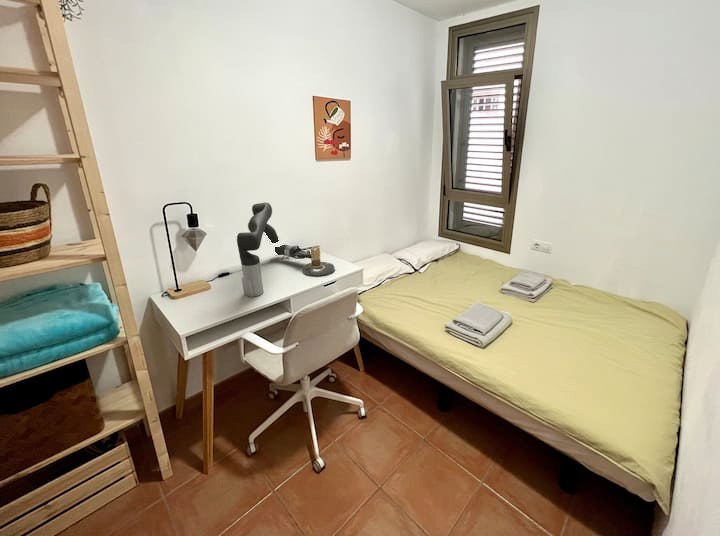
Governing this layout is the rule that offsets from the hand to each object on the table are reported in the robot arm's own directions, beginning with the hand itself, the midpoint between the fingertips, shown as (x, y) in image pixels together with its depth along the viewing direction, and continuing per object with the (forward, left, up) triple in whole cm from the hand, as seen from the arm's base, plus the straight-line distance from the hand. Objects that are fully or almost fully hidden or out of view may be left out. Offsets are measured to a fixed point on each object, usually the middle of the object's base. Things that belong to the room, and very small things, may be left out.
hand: (312, 256), depth 208 cm
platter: (0, -5, -8) cm, 9 cm away
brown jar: (0, -3, -6) cm, 7 cm away
